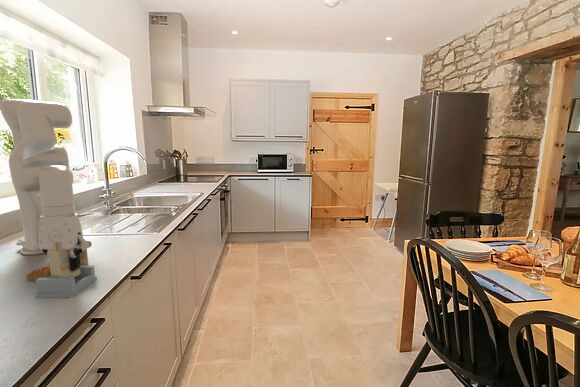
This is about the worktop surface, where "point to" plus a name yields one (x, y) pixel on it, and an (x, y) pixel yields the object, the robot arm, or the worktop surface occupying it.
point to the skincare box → (61, 262)
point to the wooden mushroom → (84, 255)
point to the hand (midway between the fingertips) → (65, 268)
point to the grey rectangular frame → (65, 284)
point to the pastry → (39, 273)
